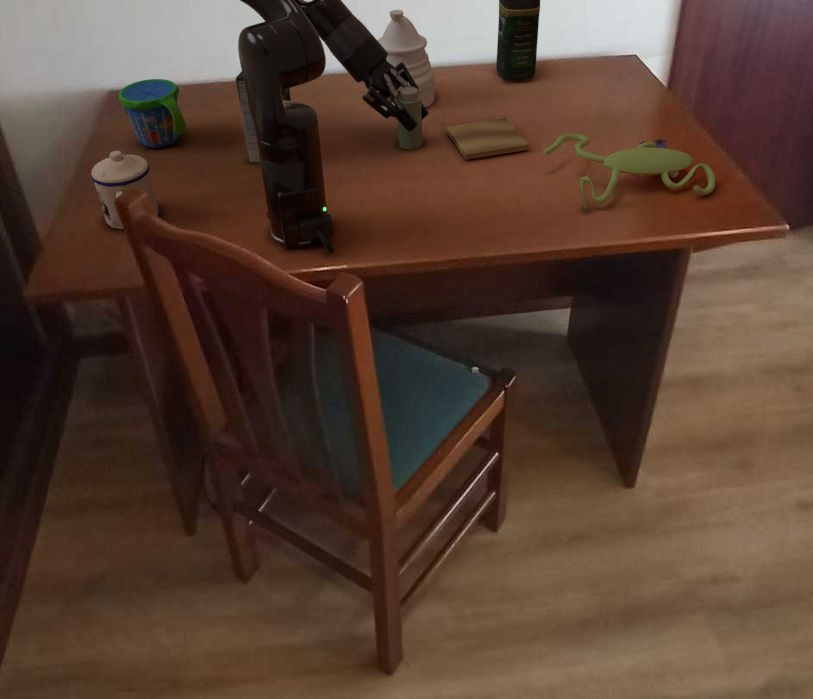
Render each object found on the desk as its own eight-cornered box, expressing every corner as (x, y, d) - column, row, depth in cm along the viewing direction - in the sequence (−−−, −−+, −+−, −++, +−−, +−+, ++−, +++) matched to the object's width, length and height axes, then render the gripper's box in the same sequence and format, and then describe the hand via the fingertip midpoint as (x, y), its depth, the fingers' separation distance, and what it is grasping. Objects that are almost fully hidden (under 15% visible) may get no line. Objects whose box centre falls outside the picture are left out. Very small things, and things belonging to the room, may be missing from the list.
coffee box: (264, 140, 165) (252, 56, 154) (297, 142, 163) (286, 58, 153) (248, 162, 158) (234, 77, 147) (281, 165, 157) (270, 79, 146)
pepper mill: (425, 147, 160) (424, 93, 154) (402, 150, 159) (400, 96, 153) (418, 137, 163) (417, 83, 157) (396, 140, 163) (393, 87, 156)
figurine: (536, 161, 155) (538, 132, 151) (680, 146, 157) (685, 117, 154) (566, 214, 140) (569, 183, 137) (723, 196, 143) (730, 166, 139)
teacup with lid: (107, 206, 147) (88, 143, 140) (161, 200, 148) (146, 137, 141) (100, 244, 138) (80, 178, 130) (158, 237, 139) (142, 171, 132)
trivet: (528, 151, 158) (529, 144, 157) (465, 161, 155) (465, 154, 154) (505, 124, 167) (505, 117, 166) (445, 133, 164) (445, 126, 163)
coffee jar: (539, 81, 181) (545, -10, 170) (502, 84, 181) (505, -8, 169) (528, 64, 189) (534, -25, 177) (492, 67, 188) (496, -23, 176)
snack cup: (114, 137, 167) (101, 86, 161) (161, 119, 173) (150, 70, 166) (157, 163, 159) (145, 110, 152) (206, 143, 164) (196, 92, 158)
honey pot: (423, 115, 171) (421, 22, 159) (362, 108, 174) (356, 17, 163) (442, 89, 180) (441, 0, 169) (383, 83, 183) (379, -5, 172)
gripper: (361, 47, 162) (422, 118, 165) (324, 76, 152) (390, 150, 156) (386, 22, 157) (448, 95, 160) (349, 49, 147) (416, 127, 150)
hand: (419, 122), depth 158 cm, fingers closed on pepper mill, 4 cm apart
